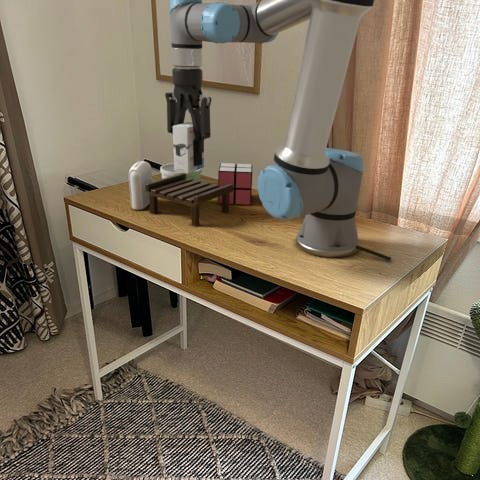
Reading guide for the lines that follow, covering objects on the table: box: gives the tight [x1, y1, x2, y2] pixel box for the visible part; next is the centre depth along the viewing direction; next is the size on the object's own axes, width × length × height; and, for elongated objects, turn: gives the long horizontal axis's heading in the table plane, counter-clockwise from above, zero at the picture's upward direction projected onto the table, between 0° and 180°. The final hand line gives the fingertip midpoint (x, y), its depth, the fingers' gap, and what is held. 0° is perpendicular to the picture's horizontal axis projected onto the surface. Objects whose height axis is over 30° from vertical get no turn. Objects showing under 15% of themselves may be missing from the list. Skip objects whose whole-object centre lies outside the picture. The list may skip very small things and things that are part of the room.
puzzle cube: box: [217, 162, 253, 206], centre depth 148 cm, size 10×10×10 cm
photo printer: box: [128, 160, 153, 211], centre depth 140 cm, size 10×4×12 cm, turn 170°
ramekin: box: [159, 162, 203, 181], centre depth 157 cm, size 13×13×7 cm
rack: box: [145, 173, 233, 227], centre depth 137 cm, size 19×16×8 cm
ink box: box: [172, 121, 205, 174], centre depth 130 cm, size 8×5×12 cm, turn 154°
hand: (189, 162), depth 132 cm, fingers closed on ink box, 5 cm apart
